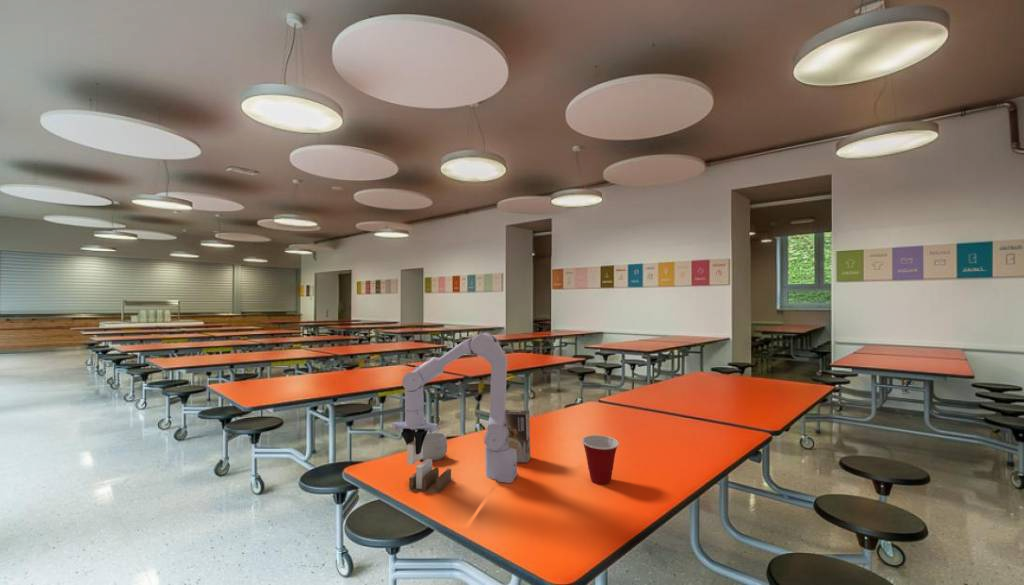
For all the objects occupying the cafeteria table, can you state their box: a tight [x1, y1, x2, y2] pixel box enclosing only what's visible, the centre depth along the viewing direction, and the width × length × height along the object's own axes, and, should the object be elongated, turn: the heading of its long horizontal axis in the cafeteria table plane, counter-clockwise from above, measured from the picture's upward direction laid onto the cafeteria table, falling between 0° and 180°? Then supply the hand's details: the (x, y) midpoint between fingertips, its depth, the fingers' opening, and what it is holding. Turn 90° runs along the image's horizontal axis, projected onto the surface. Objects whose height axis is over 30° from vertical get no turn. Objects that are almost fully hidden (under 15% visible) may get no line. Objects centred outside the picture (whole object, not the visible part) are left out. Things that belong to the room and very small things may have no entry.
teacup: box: [420, 431, 448, 462], centre depth 150 cm, size 14×11×8 cm
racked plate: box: [415, 459, 433, 489], centre depth 125 cm, size 2×7×6 cm, turn 166°
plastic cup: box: [581, 434, 620, 485], centre depth 127 cm, size 11×11×12 cm
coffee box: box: [505, 409, 532, 464], centre depth 148 cm, size 9×6×16 cm
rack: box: [405, 467, 454, 494], centre depth 125 cm, size 10×11×4 cm
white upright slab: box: [406, 439, 423, 466], centre depth 135 cm, size 2×7×6 cm, turn 166°
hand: (415, 453), depth 135 cm, fingers closed on white upright slab, 2 cm apart
